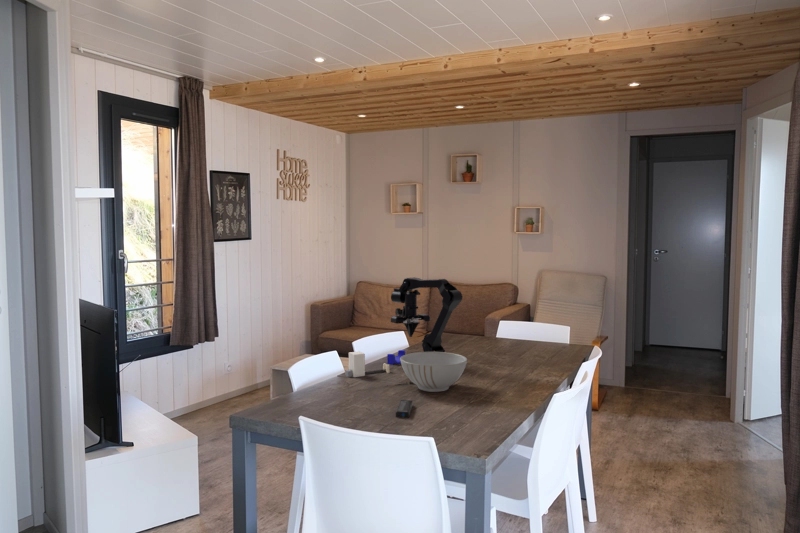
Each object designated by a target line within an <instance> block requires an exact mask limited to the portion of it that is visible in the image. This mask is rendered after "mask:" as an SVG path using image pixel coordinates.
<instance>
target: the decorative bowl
mask: <svg viewBox="0 0 800 533" xmlns="http://www.w3.org/2000/svg"><path fill="white" fill-rule="evenodd" d="M400 361H401V367H402V369H403V372H404V373H405V375H406V377H407V378H408V380H410V381H411V382H412V383H413V384H414V385H416V386H417V388H418V389H419V390H420V391H424V392H431V393H432V392H435V393H436V392H437V393H439V392H446V391H447V390H449V388H450V386H452V385H453V384H455V383H456V382H457V381H458V380H459V378H461V376H462V374H464V372H465V369H466V367H467V363H468V358H467V357H466V356H465V355H461V354H459V353H453V352H446V351H445V352H435V351H433V352H424V351H419V352H412V353H411V352H410V353H405V355H403V356H402V357H401V358H400Z"/></svg>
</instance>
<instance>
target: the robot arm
mask: <svg viewBox="0 0 800 533" xmlns="http://www.w3.org/2000/svg"><path fill="white" fill-rule="evenodd" d="M422 288H429V289H430V288H435V289H436V288H437V289H438V292H439V295H440V296H441V297H442V301H441V304H442V307H441V310H440V312H439V314H438V316H437V317H436V318H437V319H436V321H435V323H434V326H433V328H432V330H431V332H429V333H425V335H424V337H423V339H422V340H421V342H422V343H421V346H422V350H423V351H422V352H446V350H445V348H444V346H442V335H443V333H444V331H445V328H446V326H447V324H448V321H449V320H450V318H451V316H452V313H453V311H454V310H455V309H456V308H457V307H458V306H459V305H460V303H461V302H462V300H463V294H462V292H461V290H458V288H457V287H456V286H454V285H453V284H452V283H450V282H449V281H448V280H447V279H445V278H439V279H423V278H421V277H416V276H415V277H413V276H412V277H406V278H403V281H402V283H401V285H400V287H399V288H398V287H397V288H393V291H392V293H391V295H390V299H391V301H392V302H393V303H399V304H404V305H403V306H402V309H401V308H398V307H397V308H395V312H394V313H395V315H393V316H392V315H391V318H390V323H392V324H403V325H404V326H405V328H406V331H407V334H408V337H410V338H413V335H414V333H415V332H416V329H417V327H418V326H419V325H420V324H421V322H420V321H422V320H423V321H424V322H431V316H430V314H426V313H421V314H420V313H419V314H417V313H418V311H417V310H418V309H419V306H417V305H418V297H417V296H420V295H421V292H419V290H418V289H422Z"/></svg>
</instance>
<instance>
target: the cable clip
mask: <svg viewBox="0 0 800 533" xmlns="http://www.w3.org/2000/svg"><path fill="white" fill-rule="evenodd" d="M397 351H398V352H397V355H395V353H388V354H387V355H386V356H387V357H386V358H387V359H386V361H387V363H386V364H387V365H395V364H397V365H399V364H401V361H400V358H401V357H402V356H403V355H406V350H405V349H404V350H403V349H399V350H397ZM401 365H402V364H401Z"/></svg>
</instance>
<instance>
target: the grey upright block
mask: <svg viewBox="0 0 800 533" xmlns="http://www.w3.org/2000/svg"><path fill="white" fill-rule="evenodd" d="M348 370H351V371H352V377H353V378H356V377H357V378H358V377H365V376H366V374H365V372H366V353H364V352H361V351H360V350H358V351H352V352H351V351H350V352H348Z"/></svg>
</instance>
